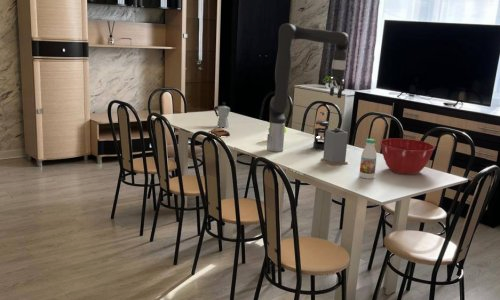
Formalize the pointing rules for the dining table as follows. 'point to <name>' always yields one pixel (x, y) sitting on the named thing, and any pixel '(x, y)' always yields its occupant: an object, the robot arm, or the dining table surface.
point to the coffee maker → (222, 115)
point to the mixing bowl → (406, 155)
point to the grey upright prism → (335, 147)
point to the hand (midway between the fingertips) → (335, 96)
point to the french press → (317, 143)
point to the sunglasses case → (220, 132)
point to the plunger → (336, 130)
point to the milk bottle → (368, 160)
